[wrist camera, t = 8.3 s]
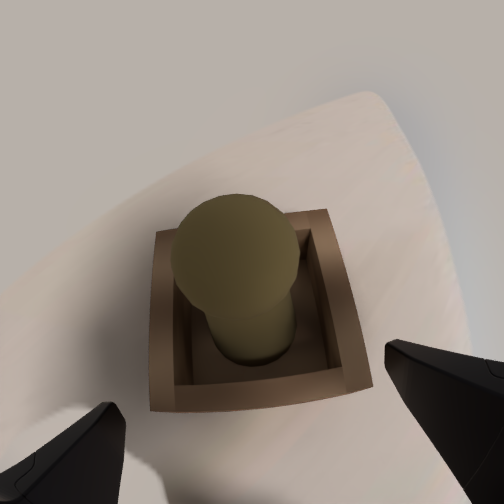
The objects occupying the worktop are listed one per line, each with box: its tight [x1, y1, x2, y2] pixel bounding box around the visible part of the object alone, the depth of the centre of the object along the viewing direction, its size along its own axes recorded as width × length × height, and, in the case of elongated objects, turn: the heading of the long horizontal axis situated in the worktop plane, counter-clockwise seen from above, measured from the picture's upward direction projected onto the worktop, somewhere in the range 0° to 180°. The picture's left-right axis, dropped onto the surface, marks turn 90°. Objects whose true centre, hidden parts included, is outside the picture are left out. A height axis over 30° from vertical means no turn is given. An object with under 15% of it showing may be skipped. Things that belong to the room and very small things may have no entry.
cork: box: [170, 194, 300, 367], centre depth 15 cm, size 6×6×11 cm
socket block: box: [149, 209, 373, 413], centre depth 18 cm, size 12×12×4 cm
